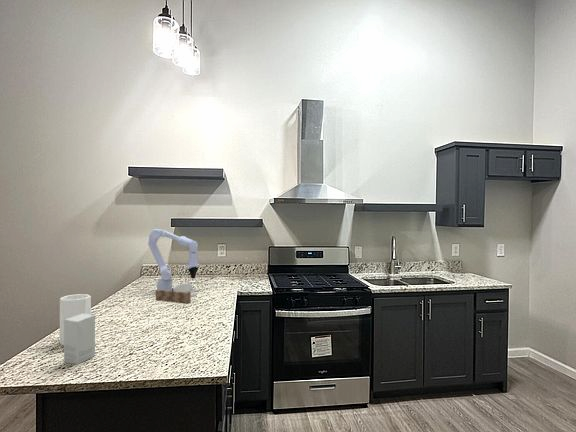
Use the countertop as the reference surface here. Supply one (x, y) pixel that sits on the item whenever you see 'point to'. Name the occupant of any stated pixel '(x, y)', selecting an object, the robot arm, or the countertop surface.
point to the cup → (73, 309)
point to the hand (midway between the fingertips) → (193, 278)
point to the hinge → (185, 289)
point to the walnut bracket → (173, 296)
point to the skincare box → (79, 338)
